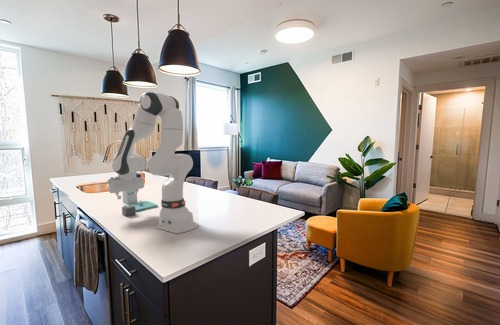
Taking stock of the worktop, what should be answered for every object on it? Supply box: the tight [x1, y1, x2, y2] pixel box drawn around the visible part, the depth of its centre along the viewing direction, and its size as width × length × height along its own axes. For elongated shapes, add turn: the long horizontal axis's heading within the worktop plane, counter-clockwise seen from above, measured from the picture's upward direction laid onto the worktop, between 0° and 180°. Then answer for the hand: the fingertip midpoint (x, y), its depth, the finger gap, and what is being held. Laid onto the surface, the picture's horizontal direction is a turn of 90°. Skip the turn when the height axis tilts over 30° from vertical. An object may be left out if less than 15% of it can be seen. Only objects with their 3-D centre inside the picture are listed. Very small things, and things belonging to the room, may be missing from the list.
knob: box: [121, 204, 136, 217], centre depth 145 cm, size 6×6×5 cm
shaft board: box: [123, 200, 159, 213], centre depth 161 cm, size 16×16×4 cm
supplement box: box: [121, 190, 138, 205], centre depth 171 cm, size 7×7×13 cm
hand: (127, 197), depth 144 cm, fingers open, 8 cm apart
